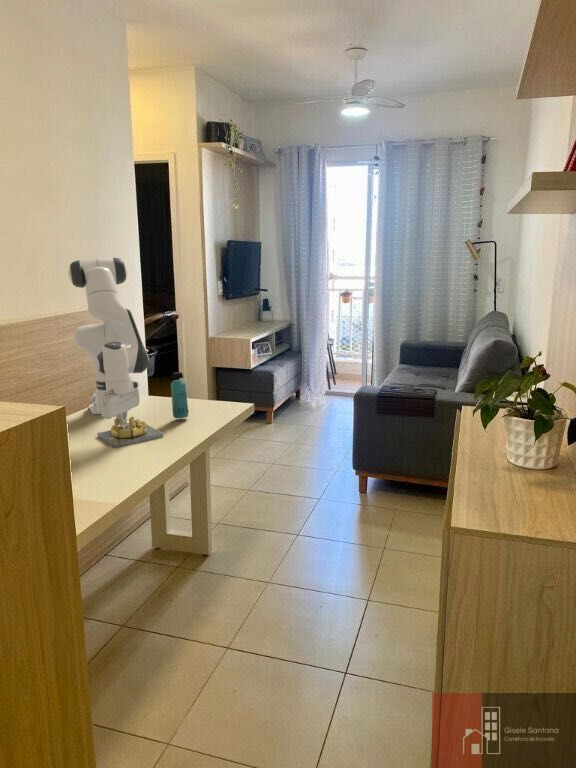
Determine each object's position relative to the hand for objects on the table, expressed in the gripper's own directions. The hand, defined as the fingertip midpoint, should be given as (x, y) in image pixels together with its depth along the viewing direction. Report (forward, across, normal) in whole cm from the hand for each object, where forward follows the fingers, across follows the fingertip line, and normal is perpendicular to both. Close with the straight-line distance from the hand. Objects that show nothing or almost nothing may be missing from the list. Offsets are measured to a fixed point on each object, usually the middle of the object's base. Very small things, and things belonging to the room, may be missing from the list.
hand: (122, 423), depth 208 cm
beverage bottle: (+7, +29, -9) cm, 31 cm away
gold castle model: (+6, +5, 0) cm, 8 cm away
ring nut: (+5, +4, 0) cm, 6 cm away
